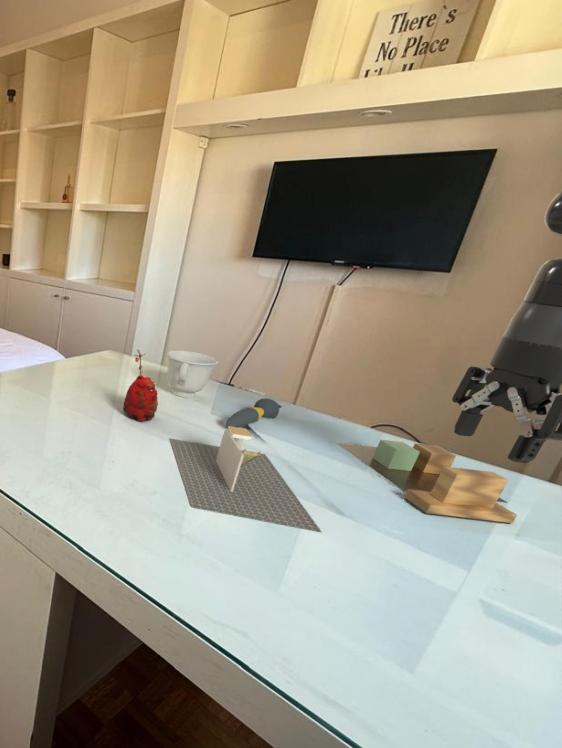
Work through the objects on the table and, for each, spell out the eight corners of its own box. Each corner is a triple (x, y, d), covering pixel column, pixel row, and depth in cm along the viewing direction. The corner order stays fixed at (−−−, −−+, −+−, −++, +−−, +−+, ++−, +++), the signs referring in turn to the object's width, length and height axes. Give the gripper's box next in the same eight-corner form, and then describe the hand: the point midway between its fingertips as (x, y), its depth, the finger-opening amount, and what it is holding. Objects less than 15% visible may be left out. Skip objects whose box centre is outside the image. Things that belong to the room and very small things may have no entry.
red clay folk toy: (150, 426, 97) (165, 358, 91) (117, 417, 100) (129, 351, 95) (157, 415, 103) (171, 351, 97) (126, 407, 106) (138, 345, 101)
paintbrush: (242, 436, 94) (249, 414, 93) (219, 427, 98) (225, 406, 96) (283, 419, 106) (289, 399, 104) (260, 411, 109) (266, 392, 108)
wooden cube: (428, 464, 85) (437, 445, 84) (446, 475, 82) (456, 455, 80) (406, 462, 86) (414, 443, 84) (422, 472, 82) (432, 453, 81)
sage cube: (394, 460, 86) (403, 441, 84) (411, 471, 82) (420, 451, 81) (372, 458, 86) (380, 439, 85) (387, 468, 82) (396, 449, 81)
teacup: (150, 396, 114) (158, 358, 111) (165, 382, 126) (173, 347, 122) (201, 409, 108) (211, 369, 104) (212, 393, 119) (222, 357, 116)
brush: (480, 514, 72) (504, 470, 69) (508, 531, 68) (534, 485, 65) (400, 504, 73) (420, 461, 70) (422, 521, 69) (444, 475, 66)
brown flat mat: (418, 456, 91) (420, 451, 91) (504, 508, 74) (508, 502, 74) (333, 447, 92) (335, 442, 92) (400, 496, 76) (403, 490, 75)
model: (234, 464, 82) (246, 426, 80) (252, 495, 73) (266, 453, 70) (215, 461, 83) (226, 423, 80) (230, 491, 73) (243, 449, 71)
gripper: (642, 356, 54) (570, 475, 59) (521, 330, 67) (471, 430, 73) (573, 350, 54) (507, 468, 60) (467, 326, 68) (421, 424, 73)
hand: (488, 447), depth 66 cm, fingers open, 8 cm apart
